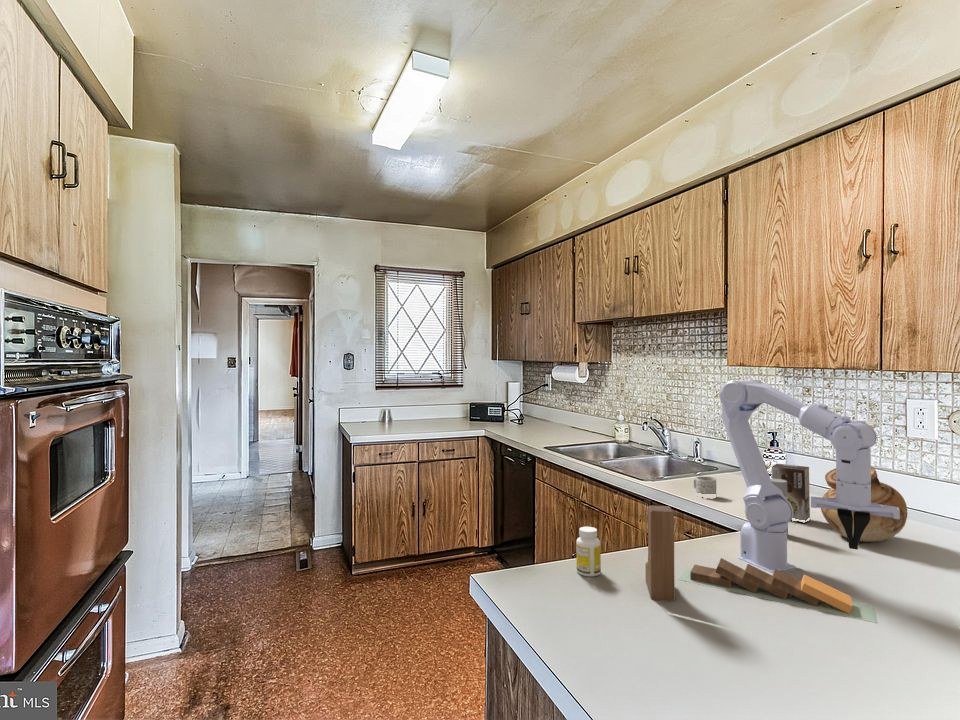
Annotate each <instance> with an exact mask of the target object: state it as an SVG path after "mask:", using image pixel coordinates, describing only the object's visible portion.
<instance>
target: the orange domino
mask: <svg viewBox="0 0 960 720" xmlns="http://www.w3.org/2000/svg"><path fill="white" fill-rule="evenodd" d="M801 578H802V579H801V580H800V581H801V591H803V592H805V593H807V594H809V595H811V596H813V597H815V598H818V599H820V600H822V601H824V602H826V603H828V604H830V605H832V606H834V607H836V608H838V609H840V610H842V611H844V612H846V613H848V614H849V613H850V611H851V609H852V602H851V601H852V598H851V595H849V594H847V593H844V592H843V591H840V590H838V589H836V588H834V587H833V586H830V585H828V584H825V583H823V582H821V581H820V580H818V579H815V578H813V577H810V576H808V575H806V574H803V576H802V577H801Z"/></svg>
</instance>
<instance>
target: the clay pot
mask: <svg viewBox="0 0 960 720" xmlns="http://www.w3.org/2000/svg"><path fill="white" fill-rule="evenodd" d="M824 479H825V481H826V483H827V486H828V487H830V489H828V490H827V491H826V492H825V493H824V494H823V496H822V497H823V498H836V468H834V469H832V470H830V471H828V472H826V474H825V476H824ZM871 503H875V504H881V505H886V506H892V507H898V508H899V510H900V519H894V518H892V517H885V516H877V515H870V522H869V523H868V525H867V526H866V528H865V530H864V531H863V533H862V536H861V538H860V541H859V542H862V541H863V542H864V543H865V542H866V543H870V542H875V543H877V542H881V541H885V540H888V539H891V538H893V537H895V536H896V535H898V534H899V533H900V532H901V531H902V530H903V529H904V527H905V525H906V522H907V519H908V514H909V513H908V506H907V502H906V500H905V499H904V497H903V495H902V494H901V493H900V492H899V491H898V490H897V489H895V488H894V487H893V486H891V485H889V484H886V483H885V482H881V481H880V480H879V478H878V474H877V470H876V469H875V468H874V467H873V466H871ZM820 510H821V513H822V516H823V517H824V519H825V521H826V522H827V523H828V524H829V526H830V527H831V528H832V529H833V531H835V532H836V533H837V534H839V535H841V536H843V537H845V538H847V534H846V532H845V529H844V527H843V525H842V523H841V521H840V519H839V517H838V513H837V510H833V509H825V508H820ZM852 517H853V534H854V512H852Z"/></svg>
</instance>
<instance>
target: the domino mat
mask: <svg viewBox="0 0 960 720" xmlns="http://www.w3.org/2000/svg"><path fill="white" fill-rule="evenodd" d="M692 568H693V567H692ZM692 568H691V567H686V568H685V569H684V571H683V573H682V574H681V576H680V578H679V579H678V580H679V581H682V582H685V583H686V582H687V583H690V584H691V583H692V584H695V585H700V586H705V587H708V588H709V587H710V588H714V589H719V590H723V591H727V592H731V593H738V594H741V595H746V596H749V597H756V598H759V599H765V600H768V601H772V602H773V601H774V602H778V603H781V604H786V605H791V606H796V607H801V608H806V609H810V610H814V611H818V612H824V613H829V614H834V615H837V616H842V617H846V618H852V619H856V620H860V621H865V622H870V623H873V624H878V621H877V616H876V615H875V614H876V613H875V610H874V608H873V607H874V606H873V605H871V604H868V603H862V602H856V601H853V600H851V602H852V609H851V611H850V613H849V614H848V613H846V612H844V611H842V610H840V609H838V608H836V607H834V606H832V605H830V604H828V603H826V602H824V601H822V600H819V602H818V605H817V607H816V606H814V605H812V604H810V603H808V602H806V601H804V600H802V599H800V598H798V597H796V596H794V595H792V594H790V593H788V596H787V598H786V600H785V599H783V598H781V597H779V596H777V595H775V594H773V593H771V592H769V591H767V590H765V589H763V588H761V587H758V589H757V591H756V593H754V592H752V591H750V590H748V589H746V588H744V587H742V586H740V585H739V584H737V583H735V582H733V584H732V587H731V588H728V587H723V586H718V585H714V584H709V583H704V582H700V581H695V580H690V572H691V570H692Z"/></svg>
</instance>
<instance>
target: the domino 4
mask: <svg viewBox="0 0 960 720" xmlns="http://www.w3.org/2000/svg"><path fill="white" fill-rule="evenodd" d="M801 581H802V580H799V579H797V578H796V577H793V576H791V575H789V574H787V573H785V572H784V571H778V570H776V569H775V571H774V573H772V582H771V585H773V586H775V587H777V588H779V589H782V590H784V591H786V592H788V593H790V594H792V595H794V596H796V597H798V598H800V599H802V600H804V601H806V602H808V603H810V604H812V605H814V606H816V607H817V605H818V602H819V600H820V599H818V598H815V597H813V596H811V595H809V594H807V593H805V592H803V591H801Z"/></svg>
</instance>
